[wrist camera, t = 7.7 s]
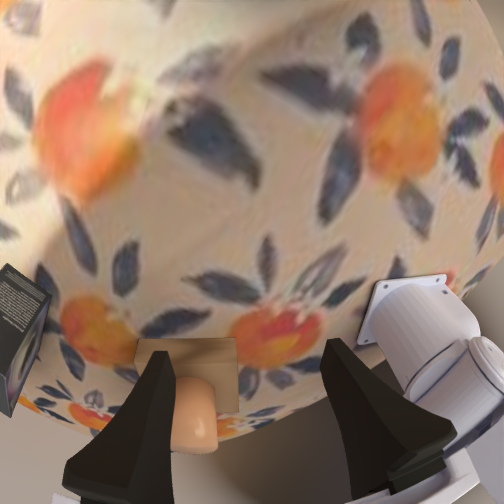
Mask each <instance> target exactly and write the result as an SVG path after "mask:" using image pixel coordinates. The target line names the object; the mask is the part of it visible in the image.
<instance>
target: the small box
mask: <svg viewBox="0 0 504 504" xmlns="http://www.w3.org/2000/svg"><path fill="white" fill-rule="evenodd" d="M51 297H52V296H51V295H50V294H49V293H48V292H46V291H45V290H43V289H42V288H40V287H39V286H38V285H36V284H35V283H33V282H32V281H31V280H29V279H28V278H27V277H25V276H24V275H22V274H21V273H20V272H18V271H17V270H16V269H15V268H13V267H12V266H11V265H9V264H8V263H6V264H5V265H4V266H3V268H2V269H1V270H0V412H2V413H3V414H5V415H7V416H8V417H10V418H11V417H12V413H13V411H14V408H15V405H16V403H17V400H18V398H19V395H20V393H21V390H22V388H23V385H24V383H25V381H26V378H27V376H28V374H29V371H30V369H31V367H32V365H33V363H34V360H35V358H36V356H37V354H38V352H39V349H40V344H41V339H42V334H43V329H44V325H45V320H46V316H47V312H48V308H49V304H50V300H51Z"/></svg>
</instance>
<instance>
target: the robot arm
mask: <svg viewBox="0 0 504 504" xmlns="http://www.w3.org/2000/svg"><path fill="white" fill-rule="evenodd" d="M446 278H447V276H446V275H445V274H438V275H429V276H421V277H411V278H402V279H392V280H382V281H378V282H377V283H376V285H375V288H374V291H373V294H372V297H371V301H370V304H369V307H368V310H367V313H366V316H365V319H364V322H363V325H362V328H361V330H360V333H359V336H358V339H357V343H358V345H363V344H369V343H374V342H377V343H378V345H379V347H380V349H381V350H382V352H383V354H384V356H385V357H386V359H387V361H388V363H389V364H390V366H391V368H392V370H393V371H394V373H395V375H396V377H397V379H398V381H399V383H400V385H401V386H402V388H403V390H404V392H405V394H404V396H401V395H400V394H398V393H397V392H396V391H394V390H393V389H392V388H390V387H389V386H388V385H387V384H385V383H384V382H383V381H382V380H381V379H379V378H378V377H377V376H376V375H375V374H374V373H373V372H372V371H371V370H370V369H369V368H368V367H367V366H366V365H365V364H364V363H363V362H362V361H361V360H360V359H359V358H358V357H357V356H356V355H355V354H354V353H353V352H352V351H351V350H350V349H349V347H348V346H347V345H346V344H345V343H344V342H343V341H342V340H341V339H340V338H334V339H327V342H326V346H325V350H324V353H323V357H322V360H321V364H320V370H321V375H322V379H323V383H324V387H325V389H326V392H327V395H328V397H329V400H330V402H331V405H332V408H333V410H334V413H335V415H336V418H337V421H338V424H339V427H340V430H341V434H342V439H343V443H344V447H345V452H346V457H347V463H348V469H349V475H350V485H351V495H352V499H353V501H352V502H348V503H345V504H451V503H452V502H454V501H455V500H457V499H458V498H459V497H461V496H462V495H463V494H465V493H466V492H467V491H469V490H470V489H472V488H473V487H474V486H475V485H477V484H478V483H479V482H480V483H481V484H482V485H483V487H484V488H485V489H486V490H487V492H488V493H489V494H490V496H491V497H492V498H493V499H494V501H495V502H496V503H497V504H504V354H503V352H502V351H501V350H500V349H499V348H498V347H497V346H496V345H495V344H494V343H493V342H492V341H490V340H489V339H487V338H486V337H483V336H481V337H480V328H479V325H478V322H477V320H476V318H475V316H474V314H473V313H472V312H471V311H470V310H469V309H468V308H467V307H466V306H465V305H464V304H463V303H462V301H461V300H460V299H459V298H458V297H457V296H456V295H455V294H454V293H453V292H452V291H451V290H450V289H449V288H448V287H447V286H446V285H445V281H446ZM384 285H385V286H384ZM175 399H176V376H175V373H174V370H173V367H172V364H171V360H170V357H169V354H168V351H154V352H153V353H152V355H151V357H150V359H149V361H148V363H147V365H146V367H145V369H144V371H143V373H142V374H141V376H140V378H139V380H138V381H137V383H136V385H135V387H134V388H133V390H132V391H131V393H130V394H129V396H128V398H127V399H126V401H125V402H124V404H123V405H122V406H121V408H120V409H119V411H118V412H117V413H116V414H115V416H114V417H113V418H112V419H111V421H110V422H109V423H108V424H107V425H106V426H105V428H104V429H103V430H102V431H101V432H100V433H99V434H98V435H97V436H96V437H95V438H94V439H93V440H92V441H91V442H90V443H89V444H87V445H86V446H85V447H84V448H83V449H82V450H80V451H79V452H78V453H77V454H75V455H74V456H73V457H71V458H70V459H69V460H67V462H66V465H65V469H64V474H63V480H62V485H63V487H64V488H66V489H68V490H70V491H71V492H73V493H75V494H77V495H79V496H81V501H79V500H76V499H73V498H70V497H67V496H64V495H62V494H59V493H56V492H53V498H52V504H174V497H173V487H172V475H171V432H172V423H173V415H174V407H175Z"/></svg>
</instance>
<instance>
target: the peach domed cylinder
mask: <svg viewBox="0 0 504 504" xmlns="http://www.w3.org/2000/svg"><path fill="white" fill-rule="evenodd" d="M217 448H218V439H217V419H216V394H215V388H214V386H213V385H212V384H210V383H209V382H207V381H205V380H203V379H199V378H194V377H181V378H177V379H176V399H175V407H174V415H173V423H172V432H171V450H172V451H174V452H178V453H183V454H193V455H197V454H207V453H211V452H213V451H215V450H217Z"/></svg>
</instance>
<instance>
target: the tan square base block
mask: <svg viewBox="0 0 504 504" xmlns="http://www.w3.org/2000/svg"><path fill="white" fill-rule="evenodd" d="M154 351H168V354H169V357H170V360H171V364H172V367H173V370H174V373H175V376H176V379H177V378H181V377H194V378H199V379H203V380H205V381H207V382H209V383H210V384H212V385H213V386H214V388H215V394H216V413H237V412H239V392H238V360H237V350H236V339H235V337H233V338H205V339H144V338H139V342H138V346H137V350H136V354H135V358H134V365H135V367H136V370H137V372H138V374H139V376H141V374H142V373H143V371H144V369H145V367H146V365H147V363H148V361H149V359H150V357H151V355H152V353H153V352H154Z"/></svg>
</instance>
